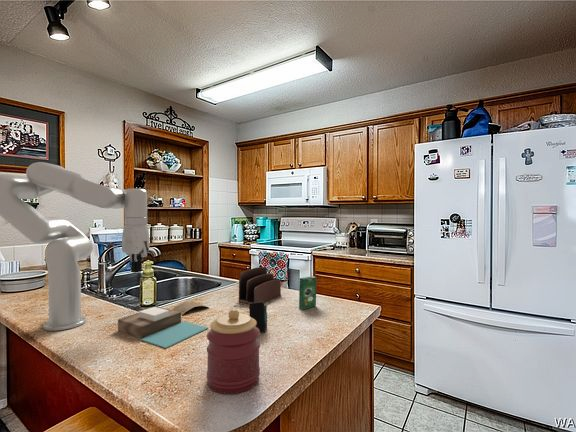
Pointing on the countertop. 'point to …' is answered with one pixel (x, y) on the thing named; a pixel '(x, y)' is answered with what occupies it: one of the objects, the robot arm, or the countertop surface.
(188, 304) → the clay tablet
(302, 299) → the coffee box
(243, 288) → the letter holder
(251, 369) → the canister
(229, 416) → the countertop surface
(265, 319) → the speaker
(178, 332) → the mat
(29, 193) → the robot arm
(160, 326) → the brown flat block
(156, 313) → the tile
